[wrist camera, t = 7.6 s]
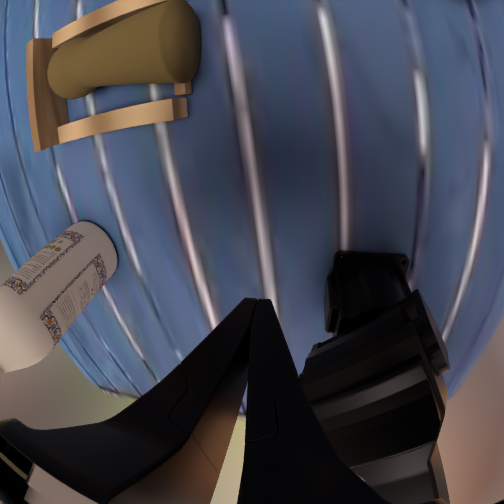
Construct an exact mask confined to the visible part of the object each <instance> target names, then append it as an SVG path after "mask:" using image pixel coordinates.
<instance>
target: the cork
mask: <svg viewBox="0 0 504 504" xmlns="http://www.w3.org/2000/svg"><path fill="white" fill-rule="evenodd" d="M200 56H201V33H200V26H199V23H198V20H197V16H196V14H195V12H194V10H193V8H192V7H191V6H190V5H189V4H188V2H187V1H185V0H170V1H167V2H164V3H161V4H159V5H156V6H154V7H151V8H149V9H146V10H144V11H142V12H139V13H137V14H135V15H132V16H130V17H128V18H126V19H124V20H122V21H120V22H118V23H116V24H114V25H112V26H110V27H108V28H106V29H104V30H102V31H100V32H99V33H97V34H95V35H93V36H92V37H90V38H89V37H80V38H75V39H73V40H71V41H68V42H66V43H64V44H63V45H62V46H61V47H60V48H59V49H58V50H57V51H56V52H55V53H54V54H53V56H52V58H51V60H50V62H49V66H48V71H47V76H48V82H49V85H50V87H51V89H52V90H53V91H54V93H56V94H57V95H59V96H60V97H62V98H66V99H77V98H80V97H84V96H86V95H88V94H89V93H91V92H92V91H94V90H95V89H96V88H97V87H99V86H110V85H124V84H149V83H177V84H181V83H188V82H189V81H190V80H191V79H192V78H193V77H194V75H195V73H196V71H197V69H198V65H199V62H200Z"/></svg>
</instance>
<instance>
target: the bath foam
mask: <svg viewBox="0 0 504 504" xmlns="http://www.w3.org/2000/svg"><path fill="white" fill-rule="evenodd" d="M116 267H117V254H116V250H115V248H114V245H113V243H112V241H111V240H110V238H109V237H108V236H107V234H106V233H105V232H104V231H103V230H102V229H101V228H99V227H98V226H96V225H95V224H93V223H90V222H86V221H81V222H77V223H75V224H73V225H72V226H71V227H69V228H68V229H67V230H65V231H64V232H63V233H61V234H60V235H59V236H57V237H56V238H55V239H54V240H52V241H51V242H50V243H49V244H47V245H46V246H45V247H44V248H43V249H41V250H40V251H39V252H38V253H37V254H35V255H34V256H33V257H32V258H31V259H30V260H28V261H27V262H26V263H25V264H24V265H23V266H22V267H21V268H20V269H18V270H17V271H16V272H15V273H14V274H13V275H12V276H11V277H10V278H9V279H8V280H7V281H6V282H5V283H4V284H2V285H1V287H0V380H1V379H2V377H3V376H4V373H6V372H9V371H14V370H18V369H22V368H25V367H29V366H31V365H33V364H36V363H37V362H39V361H40V360H42V359H43V358H44V357H45V356H47V354H48V353H49V352H50V351H51V350H52V349H53V348H54V347H55V346H56V344H57V343H58V342H59V340H60V339H61V338H62V336H63V335H64V334H65V332H66V331H67V330H68V328H69V327H70V326H71V325H72V323H73V322H74V321H75V319H76V318H77V317H78V316H79V314H80V313H81V312H82V311H83V309H84V308H85V307H86V306H87V305H88V303H89V302H90V301H91V300H92V299H93V297H94V296H95V295H96V294H97V293H98V291H99V290H100V289H101V288H102V287H103V285H104V284H105V283H106V282H107V280H108V279H109V278H110V277H111V276H112V275H113V273H114V272H115V270H116Z"/></svg>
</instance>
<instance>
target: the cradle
mask: <svg viewBox="0 0 504 504" xmlns="http://www.w3.org/2000/svg"><path fill="white" fill-rule="evenodd" d="M167 1H170V0H118V1H116V2H113V3H111V4H109V5H106V6H104V7H102V8H100V9H98V10H96V11H93V12H91V13H89V14H87V15H85V16H83V17H81V18H80V19H78V20H76V21H74V22H72V23H70V24H68V25H67V26H65V27H63V28H62V29H60V30H58V31H56V32H55V33H53V38H52V39H50V38H37V39H32V40H31V41H29V42H28V43H27V52H26V73H27V95H28V107H29V117H30V125H31V133H32V139H33V146H34V151H35V152H38V151H41V150H44V149H46V148H49V147H51V146H54V145H57V144H59V143H60V144H61V143H64V142H68V141H72V140H75V139H79V138H83V137H87V136H91V135H95V134H99V133H104V132H108V131H113V130H118V129H123V128H128V127H133V126H139V125H145V124H151V123H158V122H165V121H172V120H177V119H181V118H186V117H188V113H187V100H186V98H173V99H166V100H160V101H155V102H150V103H144V104H140V105H135V106H130V107H126V108H122V109H117V110H113V111H109V112H106V113H102V114H98V115H95V116H91V117H88V118H84V119H81V120H78V121H75V122H72V123H68V114H67V105H66V98H62V97H60V96H59V95H57V94H56V93H54V91H53V90H52V89H51V87H50V85H49V82H48V76H47V71H48V66H49V62H50V60H51V58H52V56H53V54H54V53H55V52H56V51H57V50H58V49H59V48H60V47H61V46H62V45H63V44H64V43H66V42H68V41H71V40H73V39H75V38H80V37H89V38H90V37H92V36H93V35H95V34H97V33H99V32H100V31H102V30H104V29H106V28H108V27H110V26H112V25H114V24H116V23H118V22H120V21H122V20H124V19H126V18H128V17H130V16H132V15H135V14H137V13H139V12H142V11H144V10H146V9H149V8H151V7H154V6H156V5H159V4H161V3H164V2H167ZM174 90H175V95H186V94H192V88H191V80H190V81H189V82H188V83H181V84H177V83H174Z"/></svg>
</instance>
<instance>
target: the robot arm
mask: <svg viewBox="0 0 504 504" xmlns="http://www.w3.org/2000/svg"><path fill="white" fill-rule="evenodd" d="M339 257H343V258H342V259H338V258H339ZM402 260H405V261H404V262H401V261H402ZM408 264H409V259H408V257H407V256H406V255H400V254H382V253H364V252H346V251H339V252H337V253H336V254H335V256H334V263H333V270H332V274H329V275H328V276H327V280H326V288H325V294H324V312H325V330H326V331H327V332H328V333H333V338H331V339H328V340H326V341H324V342H322V343H321V342H319V343H317V344H315V345H313V348H312V350H311V352H310V353H309V355H308V357H307V358H306V361H305V367H304V369H303V372H302V373H300V375H299V376H298V373H297V370H296V367H295V365H294V362H293V359H292V356H291V354H290V351H289V348H288V345H287V343H286V340H285V337H284V334H283V332H282V329H281V326H280V323H279V321H278V318H277V315H276V312H275V310H274V307H273V304H272V301H271V300H270V299H261V298H260V299H258V300H257V299H256V298H244V299H243V300H242V301H241V302H240V303H239V304H238V305H237V306H236V307H235V308H234V309H233V310H232V311H231V312H230V313H229V314H228V315H227V316H226V317H225V318H224V319H223V320H222V321H221V322H220V324H219V325H218V326H217V327H216V328H215V329H214V330H213V331H212V332H211V333H210V334H209V335H208V336H207V337H206V338H205V339H204V340H203V341H202V342H201V343H200V344H199V345H198V346H197V347H196V348H195V349H194V350H193V351H192V352H191V353H190V354H189V355H188V356H187V357H186V358H185V359H184V360H183V361H182V362H181V364H178V365H177V366H176V367H175V368H174V369H173V370H172V371H171V372H170V373H169V374H168V375H167V376H166V377H165V378H164V379H163V380H162V381H160V382H159V383H158V384H157V385H155V386H154V387H153V388H152V389H151V390H149V391H148V392H147V393H145V394H144V395H143V396H141V397H140V398H139V399H137V400H136V401H135V402H133V403H132V404H131V405H129V406H128V407H127V408H125V409H124V410H122V411H121V412H120V413H118V414H117V415H115V416H114V417H112V418H110V419H107V420H105V421H102V422H99V423H94V424H88V425H81V426H74V427H67V428H59V429H50V430H38V429H32V428H29V427H27V426H26V425H24V424H23V423H21V422H20V421H19V420H18V419H16V418H10V419H5V420H1V421H0V504H210V502H211V499H212V496H213V493H214V490H215V487H216V484H217V480H218V478H219V474H220V471H221V468H222V465H223V462H224V459H225V456H226V452H227V449H228V446H229V443H230V439H231V436H232V433H233V429H234V426H235V423H236V420H237V416H238V413H239V409H240V406H241V403H242V399H243V396H244V392H245V389H246V385H247V382H248V389H247V410H246V431H245V450H244V463H243V470H242V476H241V483H240V489H239V495H238V501H237V504H450V500H449V494H448V489H447V484H446V479H445V474H444V470H443V465H442V461H441V457H440V453H439V449H438V445H437V439H438V436H439V432H440V429H441V426H442V423H443V419H444V415H445V408H446V400H447V387H446V384H445V381H444V378H443V375H442V373H444V372H446V371H448V370H449V369H450V365H449V359H448V354H447V349H446V346H445V344H444V341H443V339H442V336H441V334H440V331H439V329H438V326H437V324H436V322H435V320H434V318H433V316H432V314H431V312H430V310H429V308H428V307H427V305H426V303H425V301H424V299H423V297H422V295H421V294H420V292H419V290H418V289H416V290H415V291H413V292H411V290H410V288H409V285H408V283H407V281H406V278H405V275H406V271H407V268H408ZM361 478H362V479H363V480H364V481H363V480H362V479H361ZM494 504H504V499H502V500H500V501H498V502H496V503H494Z"/></svg>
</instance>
